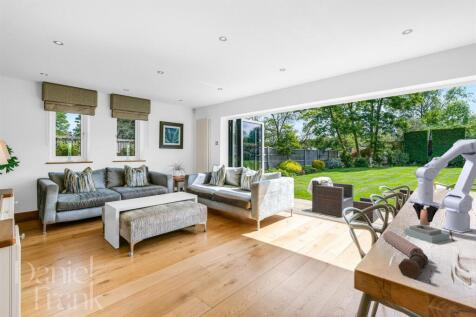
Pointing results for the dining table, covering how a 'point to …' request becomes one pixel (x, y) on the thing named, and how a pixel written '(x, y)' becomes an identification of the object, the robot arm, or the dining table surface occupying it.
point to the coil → (401, 243)
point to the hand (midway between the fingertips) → (425, 220)
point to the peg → (424, 217)
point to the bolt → (413, 265)
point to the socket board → (426, 233)
